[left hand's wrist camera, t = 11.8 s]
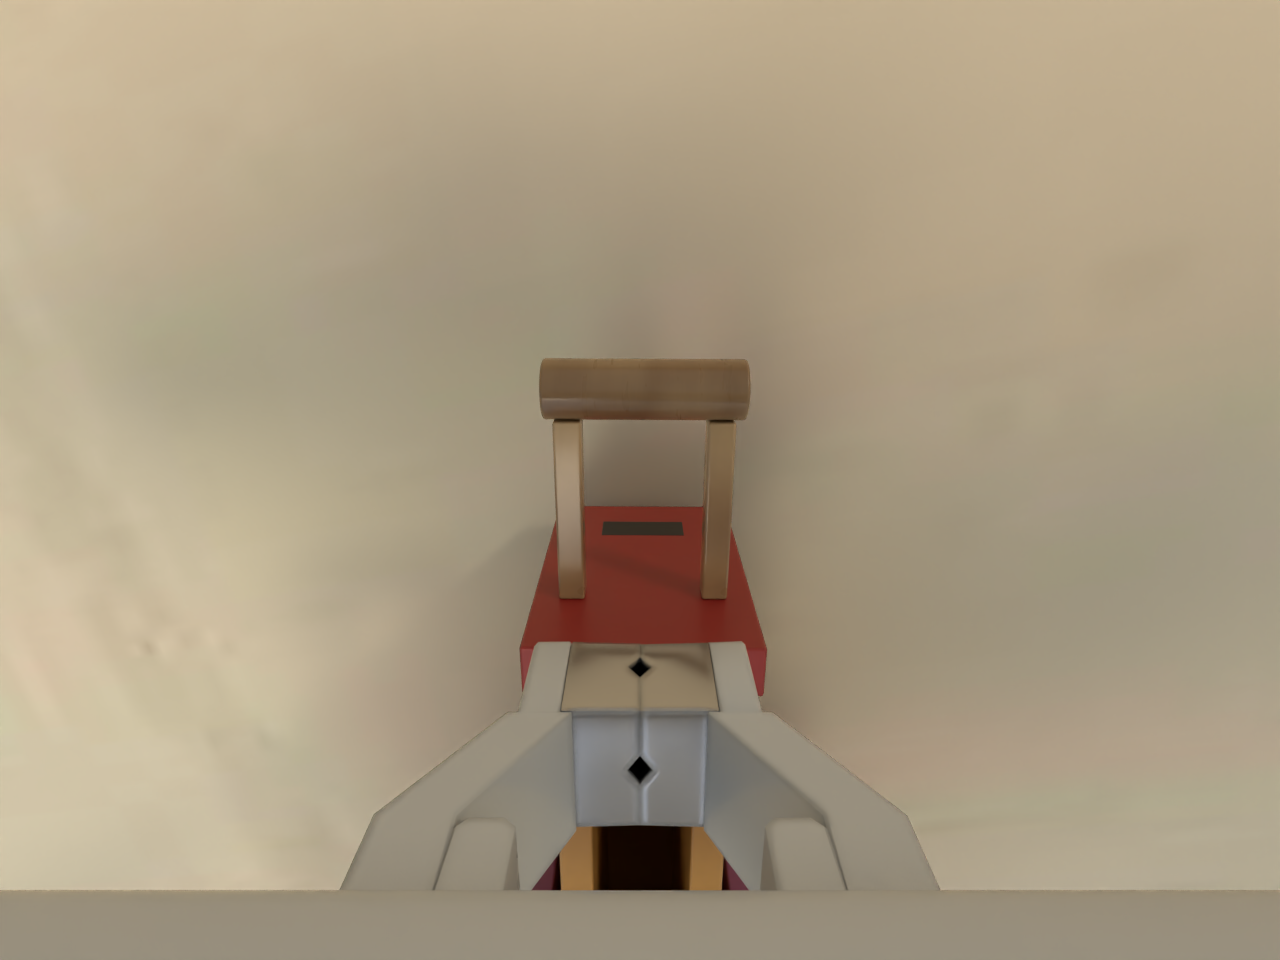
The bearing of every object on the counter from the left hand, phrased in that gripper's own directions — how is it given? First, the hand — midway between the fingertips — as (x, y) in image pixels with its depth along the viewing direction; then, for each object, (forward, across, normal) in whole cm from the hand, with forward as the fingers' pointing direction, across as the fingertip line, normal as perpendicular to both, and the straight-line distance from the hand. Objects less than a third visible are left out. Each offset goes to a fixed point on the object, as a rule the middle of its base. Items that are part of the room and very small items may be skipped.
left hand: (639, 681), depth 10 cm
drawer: (+11, 0, -8) cm, 14 cm away
